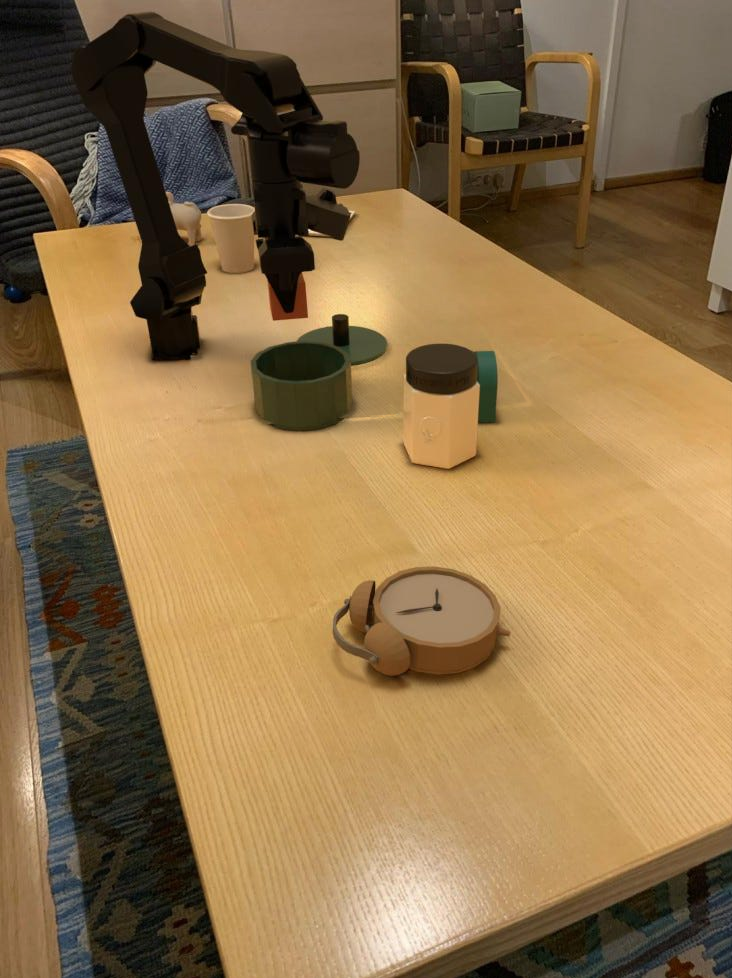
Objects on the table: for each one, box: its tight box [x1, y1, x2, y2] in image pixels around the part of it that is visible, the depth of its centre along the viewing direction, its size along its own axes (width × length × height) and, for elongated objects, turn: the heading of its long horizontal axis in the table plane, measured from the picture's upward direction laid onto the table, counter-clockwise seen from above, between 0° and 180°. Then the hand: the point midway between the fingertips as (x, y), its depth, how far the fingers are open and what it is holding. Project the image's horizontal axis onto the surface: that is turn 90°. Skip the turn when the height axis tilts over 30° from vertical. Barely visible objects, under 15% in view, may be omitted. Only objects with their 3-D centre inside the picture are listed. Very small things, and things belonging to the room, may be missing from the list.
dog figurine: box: [165, 191, 202, 246], centre depth 166 cm, size 5×13×11 cm, turn 82°
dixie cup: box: [206, 203, 255, 274], centre depth 154 cm, size 8×8×10 cm
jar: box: [403, 343, 480, 470], centre depth 101 cm, size 9×8×12 cm
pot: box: [250, 341, 353, 432], centre depth 112 cm, size 12×12×6 cm
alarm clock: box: [332, 565, 511, 677], centre depth 77 cm, size 11×5×15 cm
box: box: [266, 272, 309, 322], centre depth 112 cm, size 4×4×4 cm
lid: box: [295, 313, 388, 366], centre depth 127 cm, size 13×13×5 cm
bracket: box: [473, 350, 499, 424], centre depth 115 cm, size 18×7×8 cm, turn 4°
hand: (287, 305), depth 112 cm, fingers closed on box, 4 cm apart
